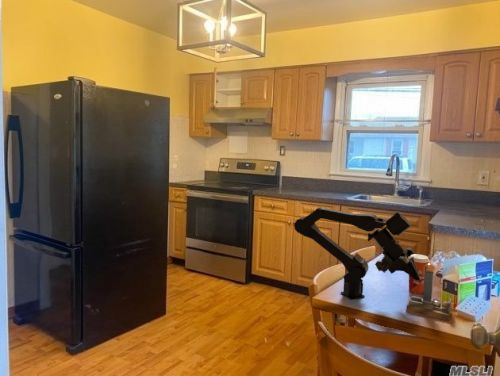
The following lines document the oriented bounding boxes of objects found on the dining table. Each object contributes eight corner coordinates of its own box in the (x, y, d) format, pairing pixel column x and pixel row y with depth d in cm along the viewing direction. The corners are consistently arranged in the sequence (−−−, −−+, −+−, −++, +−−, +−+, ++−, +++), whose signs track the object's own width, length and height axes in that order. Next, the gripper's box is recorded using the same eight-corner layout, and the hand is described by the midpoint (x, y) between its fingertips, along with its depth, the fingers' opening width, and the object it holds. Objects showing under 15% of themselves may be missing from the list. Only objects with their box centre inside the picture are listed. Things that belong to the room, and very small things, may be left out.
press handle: (421, 305, 130) (424, 264, 129) (422, 302, 133) (425, 261, 131) (439, 309, 127) (443, 267, 126) (440, 306, 130) (444, 265, 128)
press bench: (406, 311, 131) (407, 295, 130) (410, 303, 137) (411, 288, 137) (449, 321, 124) (450, 304, 123) (451, 312, 130) (452, 296, 130)
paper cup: (417, 296, 145) (419, 260, 143) (401, 289, 152) (403, 254, 150) (432, 293, 148) (434, 258, 146) (416, 286, 155) (418, 252, 153)
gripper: (377, 250, 148) (405, 284, 143) (363, 262, 132) (394, 300, 127) (400, 233, 143) (430, 268, 138) (388, 243, 127) (422, 283, 122)
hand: (418, 280), depth 132 cm, fingers closed
